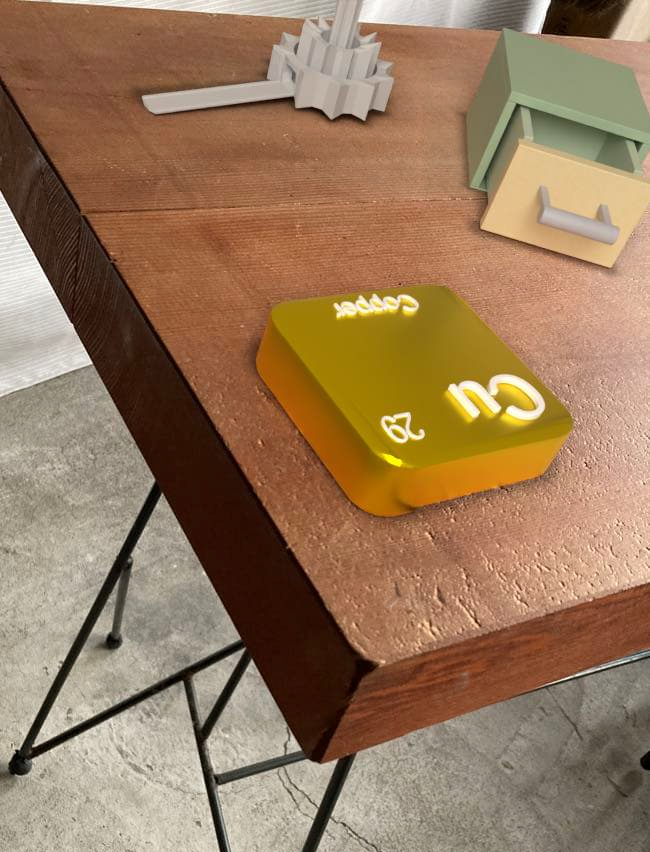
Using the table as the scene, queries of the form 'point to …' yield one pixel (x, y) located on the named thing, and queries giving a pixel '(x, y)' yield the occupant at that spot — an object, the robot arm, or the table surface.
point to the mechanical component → (307, 72)
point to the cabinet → (551, 95)
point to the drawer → (565, 186)
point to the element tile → (409, 396)
